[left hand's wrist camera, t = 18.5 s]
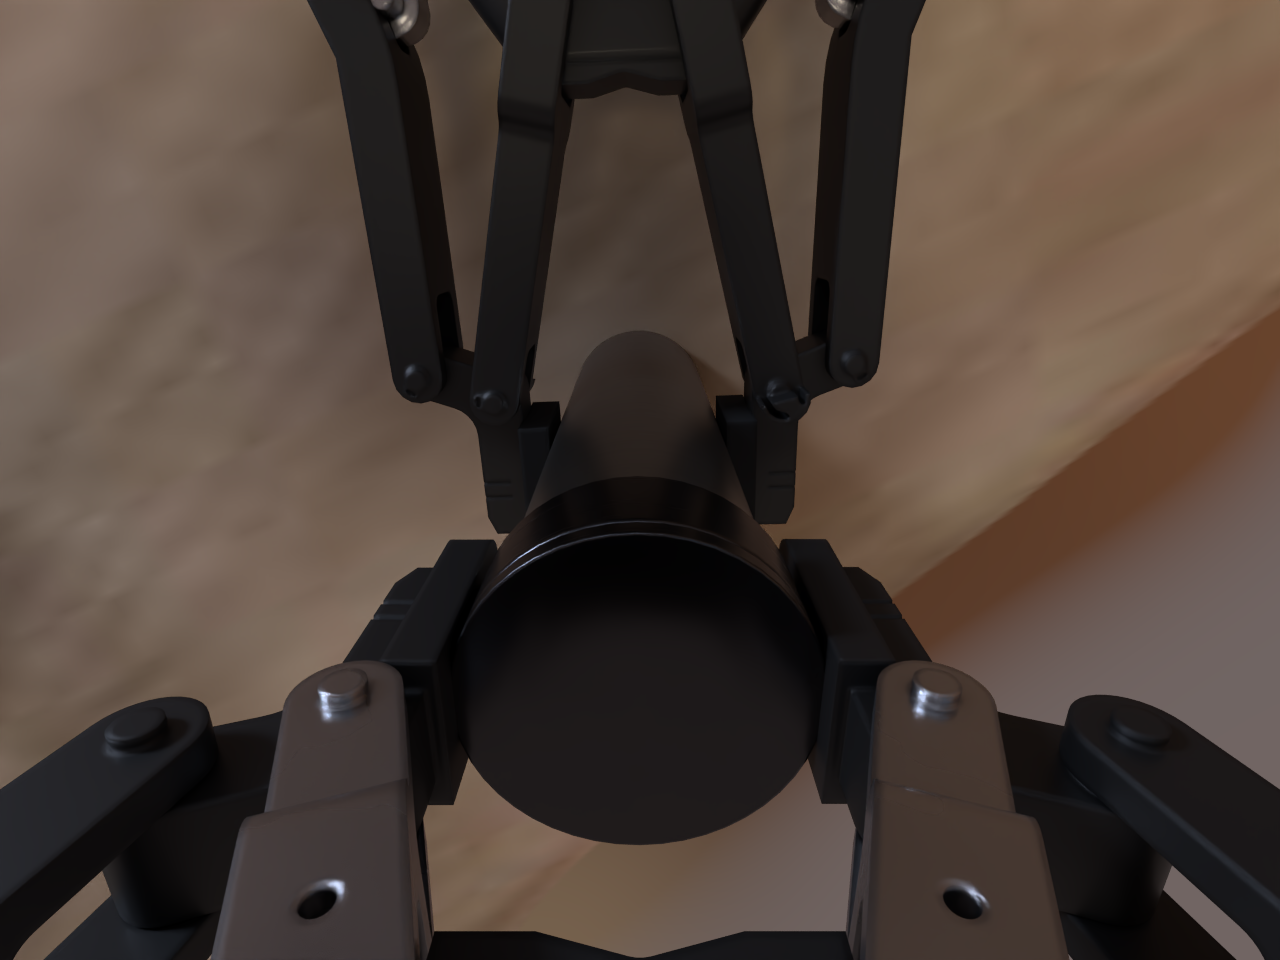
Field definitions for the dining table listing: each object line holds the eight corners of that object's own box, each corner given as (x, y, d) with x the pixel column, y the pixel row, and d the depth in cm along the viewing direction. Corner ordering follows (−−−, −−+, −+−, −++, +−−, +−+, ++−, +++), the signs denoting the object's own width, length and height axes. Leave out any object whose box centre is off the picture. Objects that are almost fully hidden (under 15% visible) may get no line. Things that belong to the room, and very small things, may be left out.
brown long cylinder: (723, 365, 25) (860, 607, 9) (666, 472, 26) (704, 833, 11) (608, 308, 24) (555, 470, 9) (557, 421, 25) (431, 730, 10)
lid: (541, 423, 10) (518, 472, 8) (853, 544, 10) (899, 614, 9) (441, 693, 11) (403, 785, 10) (716, 782, 12) (730, 884, 10)
